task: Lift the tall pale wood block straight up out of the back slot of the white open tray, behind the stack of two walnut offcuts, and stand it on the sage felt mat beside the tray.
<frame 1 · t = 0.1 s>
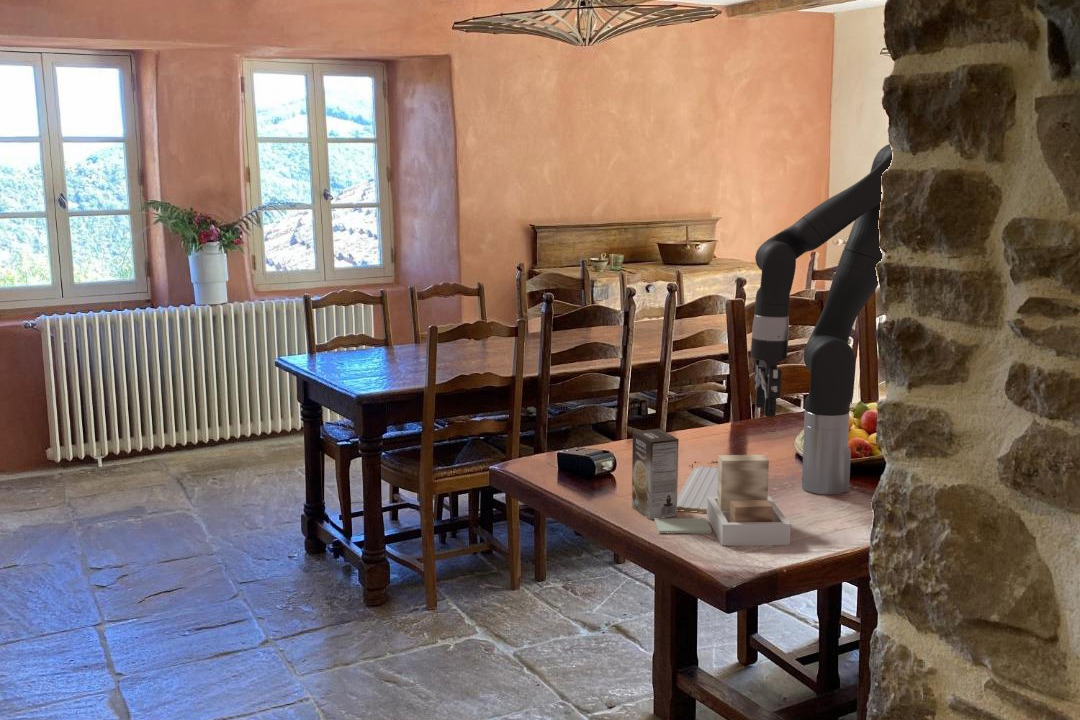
hand: (764, 411, 221), 17 cm above the table, tool pointing down, fingers open, 8 cm apart
felt mat: (682, 527, 201), on the table
white open tray: (746, 530, 199), on the table
baseboard molding: (704, 493, 224), on the table
walnut offcut upper: (750, 521, 194), point 3 cm above the table
pale wood block: (741, 521, 204), resting in white open tray
coffee box: (654, 512, 210), on the table
walnut offcut lower: (751, 539, 194), resting in white open tray
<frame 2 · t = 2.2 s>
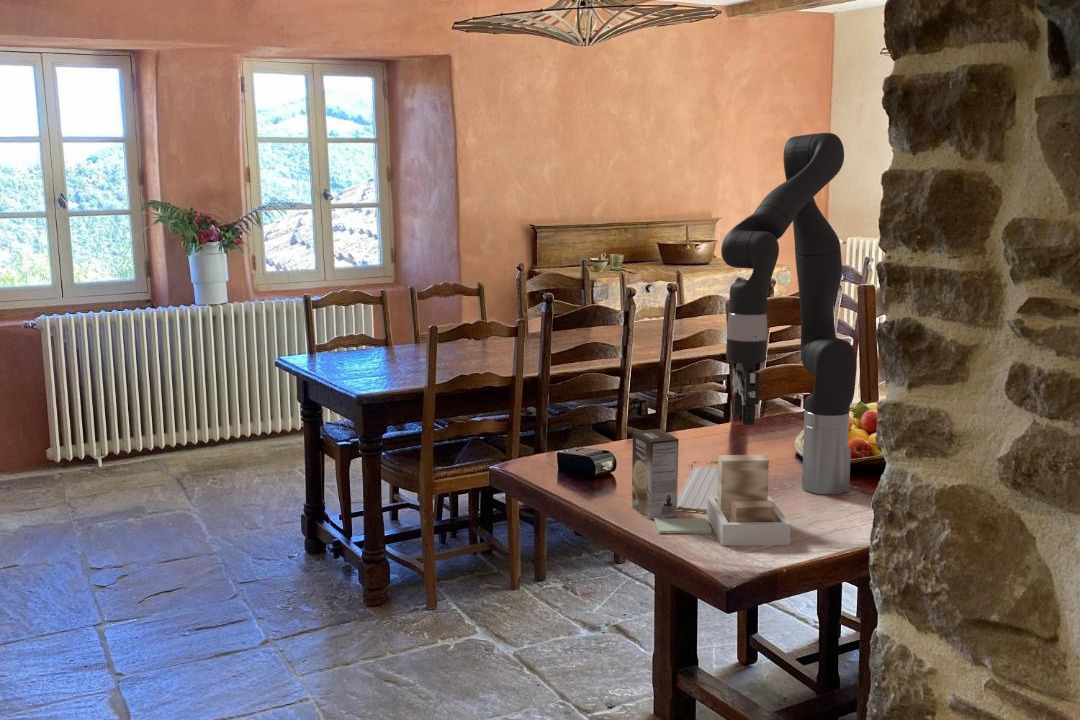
hand: (743, 419, 200), 21 cm above the table, tool pointing down, fingers open, 8 cm apart
walnut offcut upper: (752, 522, 194), point 3 cm above the table, touching walnut offcut lower
walnut offcut lower: (752, 540, 194), resting in white open tray, touching walnut offcut upper
everything else where it was.
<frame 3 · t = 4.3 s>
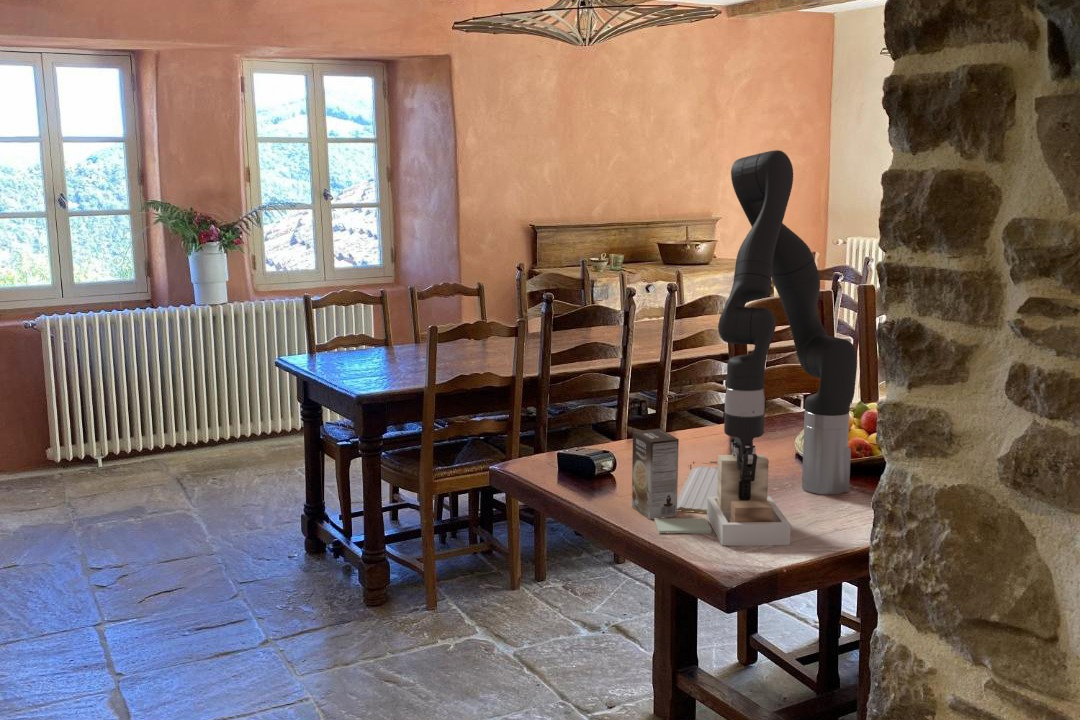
hand: (741, 495, 203), 5 cm above the table, tool pointing down, fingers closed on pale wood block, 4 cm apart
pale wood block: (741, 521, 204), resting in white open tray, touching gripper
everything else where it was.
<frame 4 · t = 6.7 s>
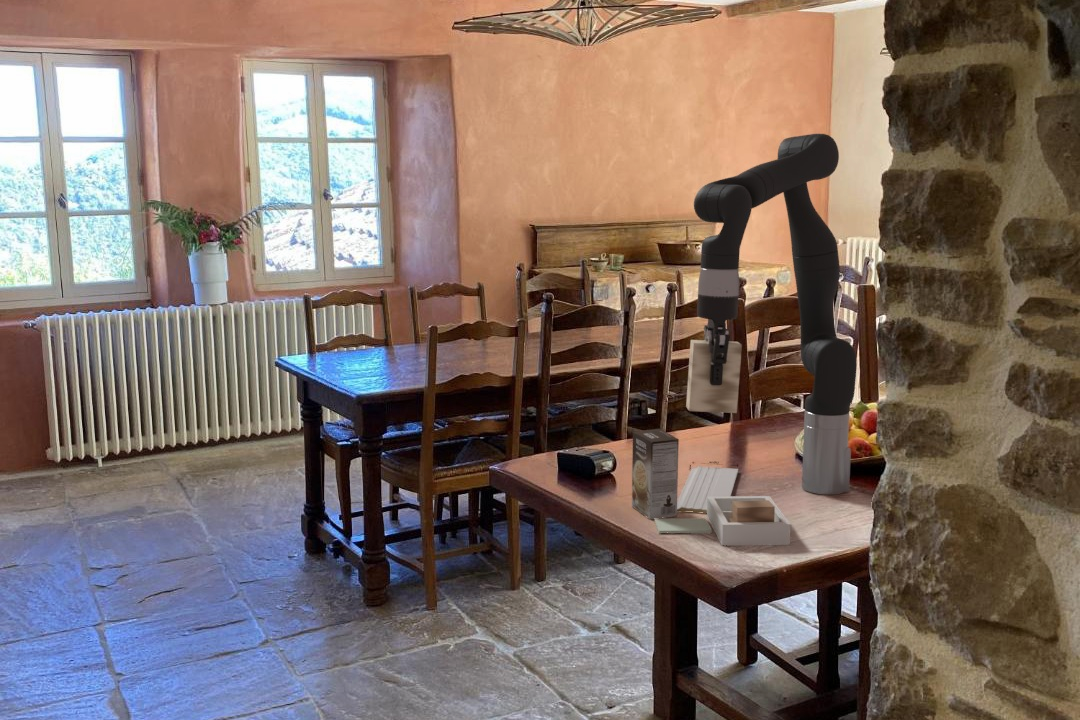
hand: (713, 382, 197), 28 cm above the table, tool pointing down, fingers closed on pale wood block, 4 cm apart
pale wood block: (711, 409, 198), point 23 cm above the table, touching gripper
everything else where it was.
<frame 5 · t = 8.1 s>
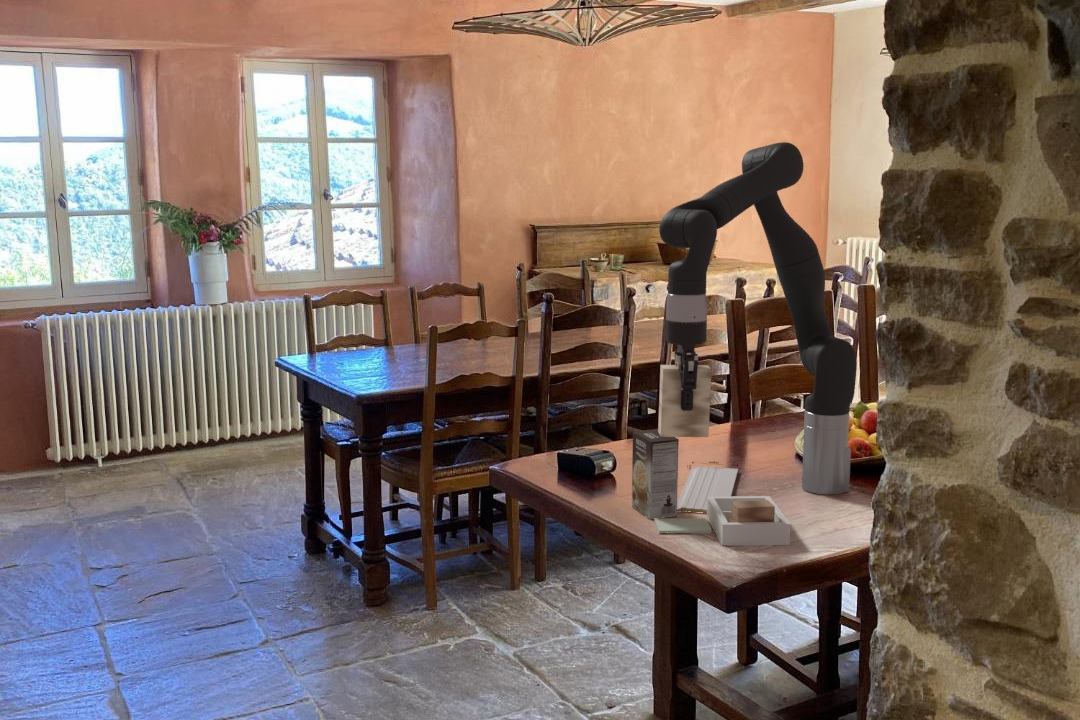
hand: (684, 407, 197), 24 cm above the table, tool pointing down, fingers closed on pale wood block, 4 cm apart
walnut offcut upper: (752, 522, 193), point 3 cm above the table, touching white open tray
pale wood block: (683, 434, 197), point 18 cm above the table, touching gripper
walnut offcut lower: (751, 540, 194), resting in white open tray
everything else where it was.
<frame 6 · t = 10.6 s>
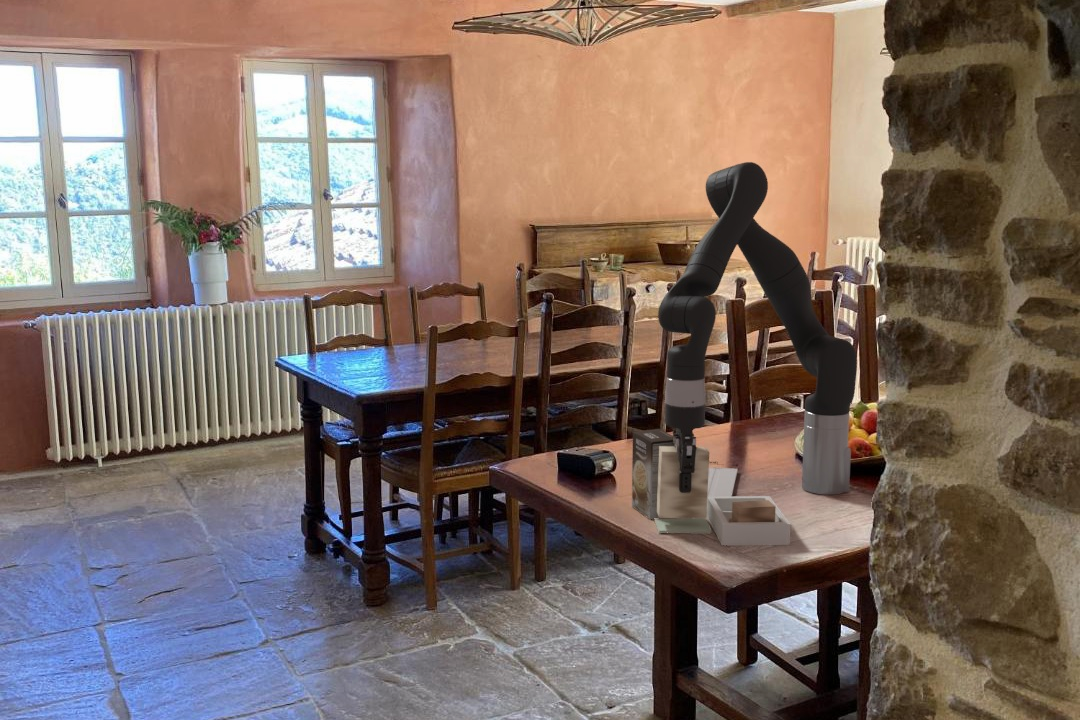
hand: (683, 488, 199), 8 cm above the table, tool pointing down, fingers closed on pale wood block, 4 cm apart
walnut offcut upper: (753, 522, 194), point 3 cm above the table, touching walnut offcut lower
pale wood block: (681, 514, 200), point 3 cm above the table, touching gripper
coffee box: (654, 512, 210), on the table, touching hand
walnut offcut lower: (751, 539, 194), resting in white open tray, touching walnut offcut upper
everything else where it was.
when the fingers open (7 cm above the table, at t = 11.4 s): pale wood block drops 1 cm, resting on felt mat.
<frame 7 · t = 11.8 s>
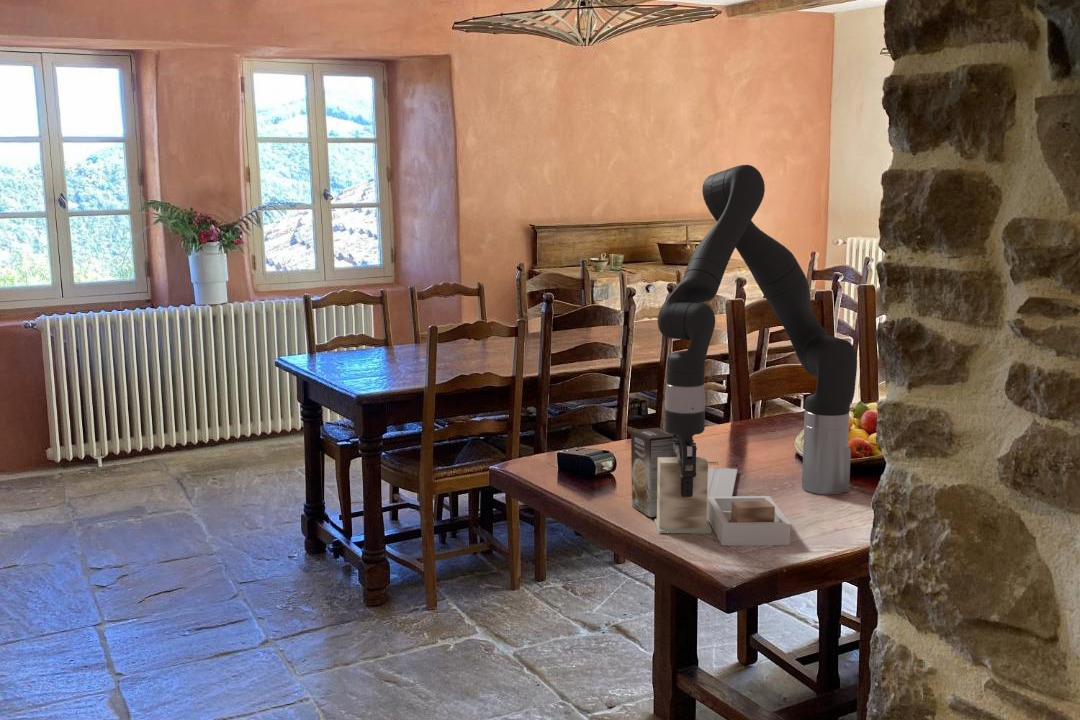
hand: (683, 490, 199), 8 cm above the table, tool pointing down, fingers open, 7 cm apart
pale wood block: (681, 525, 200), point 1 cm above the table, touching felt mat
everything else where it was.
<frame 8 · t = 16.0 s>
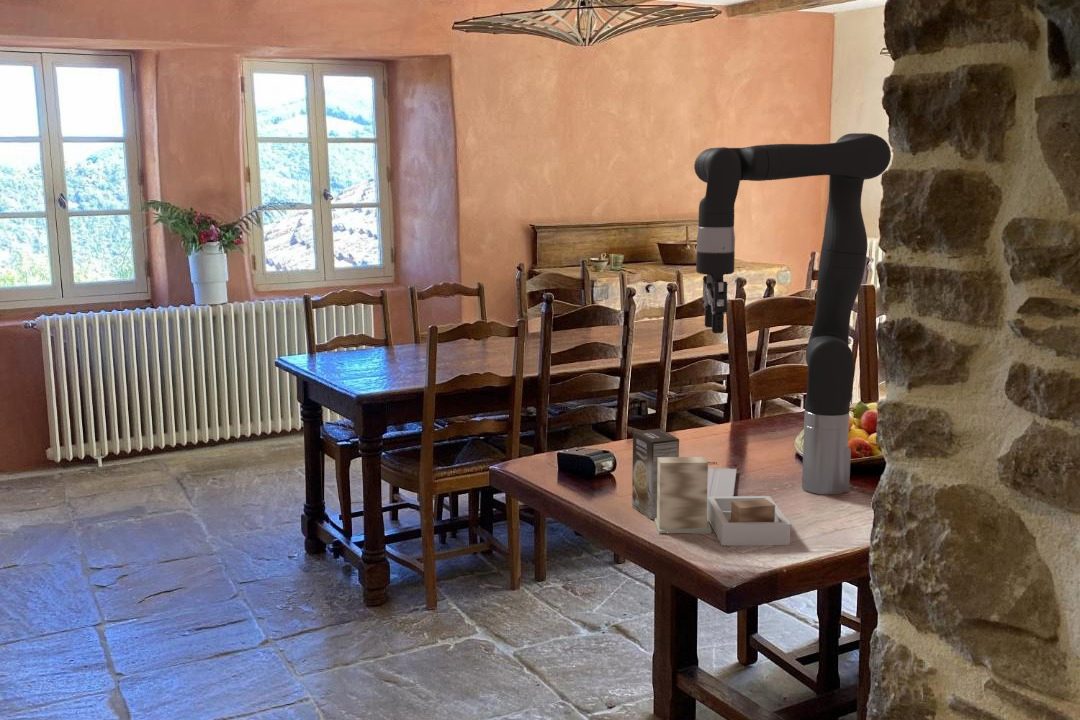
hand: (713, 330, 210), 36 cm above the table, tool pointing down, fingers open, 8 cm apart
coffee box: (654, 512, 210), on the table
everything else where it was.
at the end: pale wood block inside the target area (0.6 cm from its centre), point 0.6 cm above the table; pale wood block tilted 0°; walnut offcut upper moved 0.7 cm from its start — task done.
